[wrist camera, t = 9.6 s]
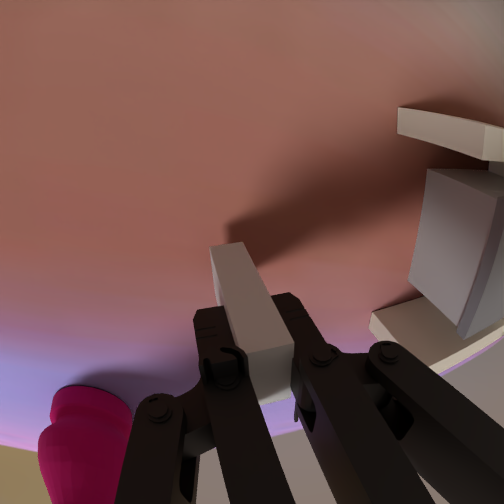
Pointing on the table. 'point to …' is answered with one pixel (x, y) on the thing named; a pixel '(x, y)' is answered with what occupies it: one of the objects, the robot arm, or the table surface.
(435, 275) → the rounded grey cube
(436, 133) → the bay
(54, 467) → the pepper mill
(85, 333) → the table surface
